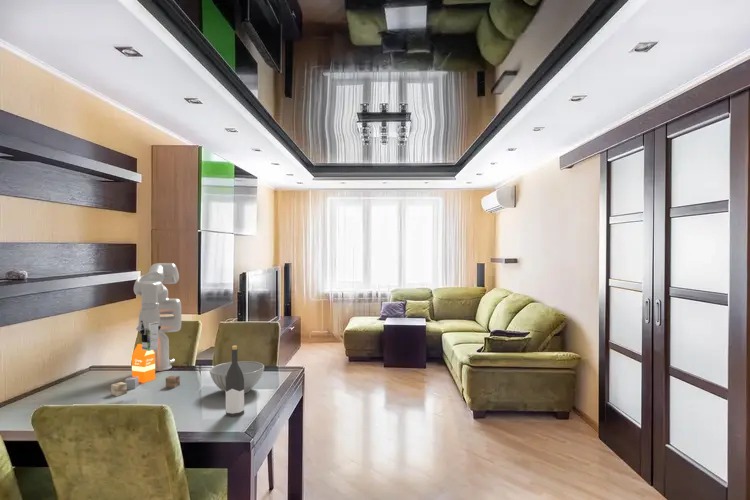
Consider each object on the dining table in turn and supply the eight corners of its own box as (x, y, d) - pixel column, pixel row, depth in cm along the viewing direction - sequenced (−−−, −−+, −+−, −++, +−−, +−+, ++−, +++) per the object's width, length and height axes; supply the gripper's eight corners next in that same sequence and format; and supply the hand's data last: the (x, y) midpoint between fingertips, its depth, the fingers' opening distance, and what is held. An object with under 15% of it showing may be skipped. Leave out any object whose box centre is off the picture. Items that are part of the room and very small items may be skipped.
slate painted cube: (128, 386, 238) (128, 376, 238) (138, 385, 239) (138, 376, 239) (124, 389, 233) (124, 379, 233) (135, 388, 234) (134, 379, 234)
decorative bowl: (207, 402, 212) (207, 377, 212) (212, 385, 238) (211, 363, 238) (265, 397, 220) (265, 372, 220) (263, 381, 245) (263, 359, 245)
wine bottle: (246, 410, 202) (246, 343, 202) (241, 416, 194) (241, 347, 194) (228, 410, 202) (228, 344, 202) (223, 417, 194) (222, 348, 194)
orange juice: (144, 382, 244) (143, 346, 244) (131, 381, 247) (131, 345, 247) (155, 378, 252) (155, 343, 251) (143, 377, 254) (143, 342, 254)
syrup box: (141, 350, 232) (141, 322, 231) (151, 347, 237) (151, 320, 237) (148, 351, 229) (148, 323, 229) (158, 348, 234) (158, 321, 234)
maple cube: (121, 391, 229) (121, 382, 229) (126, 393, 227) (126, 383, 227) (111, 394, 225) (111, 384, 225) (116, 396, 222) (116, 386, 222)
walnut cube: (170, 384, 241) (170, 375, 241) (179, 385, 240) (179, 375, 240) (165, 387, 236) (165, 378, 236) (174, 387, 235) (174, 378, 235)
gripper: (157, 304, 242) (158, 337, 242) (130, 308, 226) (130, 343, 226) (168, 304, 239) (168, 338, 240) (141, 309, 223) (141, 344, 223)
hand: (150, 340), depth 233 cm, fingers closed on syrup box, 6 cm apart
